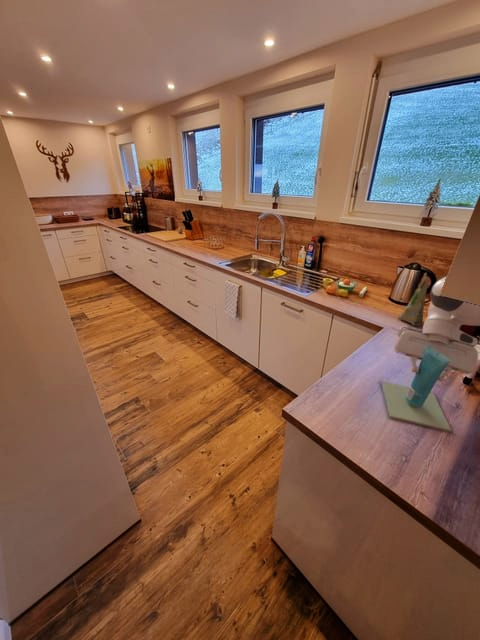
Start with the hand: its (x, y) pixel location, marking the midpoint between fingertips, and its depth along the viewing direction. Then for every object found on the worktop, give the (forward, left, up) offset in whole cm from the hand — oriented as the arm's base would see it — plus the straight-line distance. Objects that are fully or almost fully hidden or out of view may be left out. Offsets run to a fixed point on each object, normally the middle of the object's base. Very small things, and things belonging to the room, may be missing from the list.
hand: (427, 376), depth 78 cm
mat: (0, -1, -12) cm, 12 cm away
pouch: (-14, -66, -13) cm, 68 cm away
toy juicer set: (+16, -95, -13) cm, 97 cm away
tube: (0, -1, -11) cm, 11 cm away
